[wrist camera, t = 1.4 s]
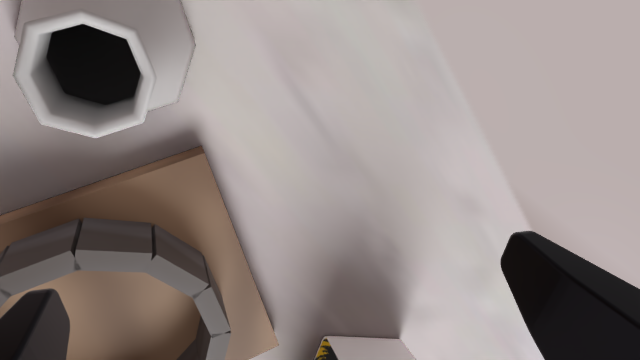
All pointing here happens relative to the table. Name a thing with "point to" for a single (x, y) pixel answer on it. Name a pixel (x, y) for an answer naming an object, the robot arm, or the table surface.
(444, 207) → the table surface
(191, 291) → the collar stand
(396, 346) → the medicine bottle
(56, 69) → the flask
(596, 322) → the robot arm
